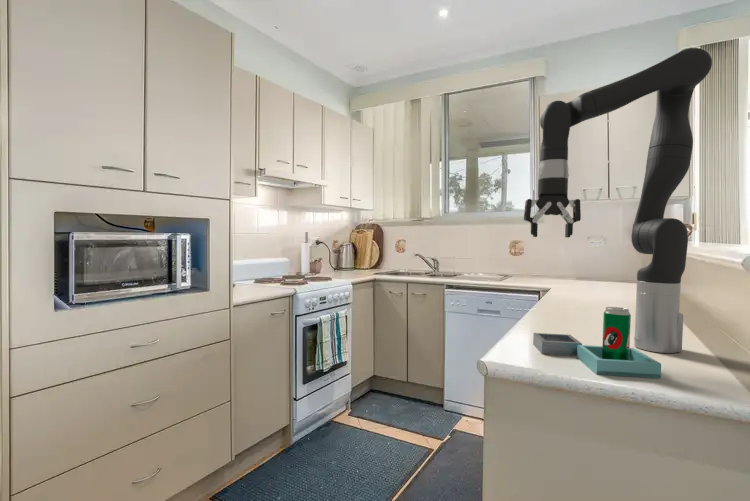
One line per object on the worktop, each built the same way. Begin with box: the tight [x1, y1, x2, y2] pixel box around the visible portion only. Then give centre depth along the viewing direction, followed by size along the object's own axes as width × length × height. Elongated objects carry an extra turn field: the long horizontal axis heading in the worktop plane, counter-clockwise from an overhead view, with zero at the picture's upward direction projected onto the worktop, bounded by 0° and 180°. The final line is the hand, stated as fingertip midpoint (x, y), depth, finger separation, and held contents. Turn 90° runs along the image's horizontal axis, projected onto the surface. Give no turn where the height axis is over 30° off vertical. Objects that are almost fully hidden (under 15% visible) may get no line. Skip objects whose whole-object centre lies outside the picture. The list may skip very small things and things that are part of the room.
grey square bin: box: [532, 332, 583, 357], centre depth 102 cm, size 9×9×3 cm
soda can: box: [601, 306, 632, 360], centre depth 89 cm, size 5×5×12 cm
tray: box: [576, 344, 662, 379], centre depth 89 cm, size 12×12×3 cm
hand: (551, 237), depth 113 cm, fingers open, 8 cm apart
